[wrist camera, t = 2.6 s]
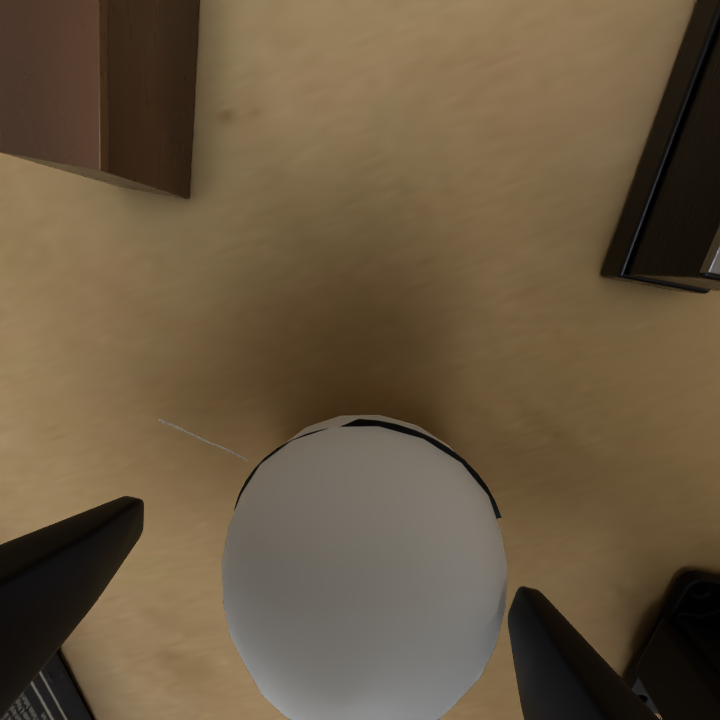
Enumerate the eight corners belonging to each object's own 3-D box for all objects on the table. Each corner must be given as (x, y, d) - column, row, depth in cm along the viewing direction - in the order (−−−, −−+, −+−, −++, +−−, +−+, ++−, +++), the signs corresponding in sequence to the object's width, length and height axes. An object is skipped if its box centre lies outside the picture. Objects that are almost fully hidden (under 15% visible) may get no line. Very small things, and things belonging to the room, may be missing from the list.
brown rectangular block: (206, -127, 9) (95, -361, 6) (189, 199, 11) (101, 171, 8) (115, -141, 9) (-48, -378, 6) (115, 185, 12) (-4, 151, 8)
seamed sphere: (517, 481, 13) (667, 743, 6) (368, 585, 15) (345, 883, 8) (321, 276, 12) (210, 291, 5) (185, 416, 13) (-45, 582, 6)
